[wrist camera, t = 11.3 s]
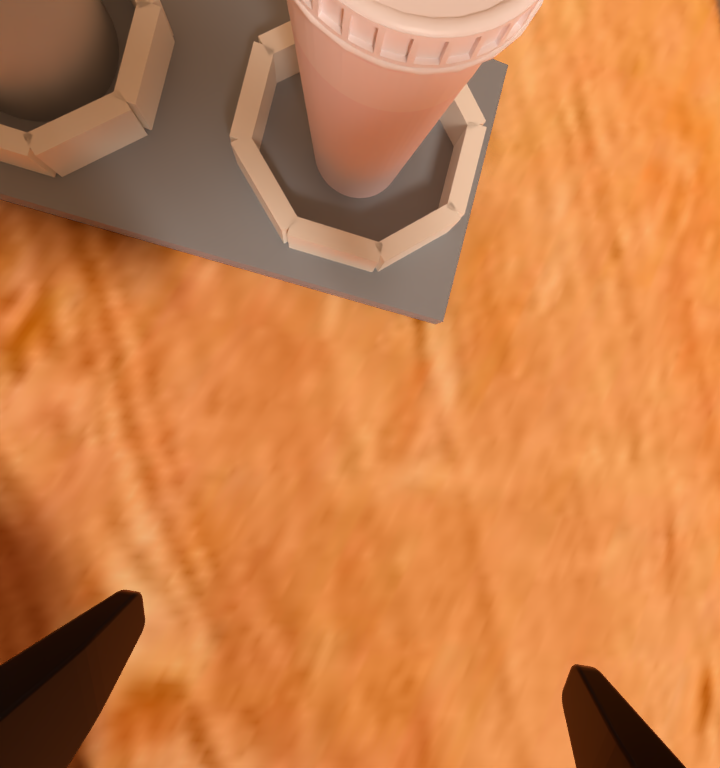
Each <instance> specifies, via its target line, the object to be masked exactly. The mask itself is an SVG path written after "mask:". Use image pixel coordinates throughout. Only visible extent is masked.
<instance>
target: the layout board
mask: <svg viewBox="0 0 720 768" xmlns="http://www.w3.org/2000/svg"><path fill="white" fill-rule="evenodd" d="M507 67H508V65H507V64H504V63H502V62H499V61H497V60H494V59H491V60H488V61H486V62H483V63H482V64H481V65H480V67H479V68H478V69H477V71H476V72H475V73H474V75H473V76H472V78H471V79H470V80H469V81H468V82H467V84H466V85H465V86H464V87H463V89H462V90H461V91H460V93H459V94H458V95H457V96H456V98H455V99H454V100H453V102H452V103H451V104H450V106H449V107H448V108H447V110H446V111H445V112H444V114H443V115H442V116H441V118H440V119H439V120H438V122H437V123H436V124H435V126H434V127H433V128H432V129H431V131H430V132H429V133H428V135H427V136H426V137H425V139H424V140H423V141H422V143H421V144H420V145H419V147H418V148H417V149H416V151H415V152H414V153H413V155H412V156H411V157H410V159H409V160H408V161H407V162H406V164H405V165H404V166H403V168H402V169H401V170H400V172H399V173H398V174H397V176H396V177H395V178H394V180H393V181H392V182H391V184H390V185H389V186H388V187H387V188H386V189H385V190H383V191H382V192H380V193H379V194H377V195H374V196H372V197H367V198H353V197H348V196H345V195H343V194H341V193H339V192H337V191H336V190H334V189H333V188H332V187H330V186H329V185H328V184H327V183H326V181H325V180H324V179H323V177H322V176H321V174H320V172H319V170H318V168H317V165H316V161H315V155H314V150H313V144H312V138H311V133H310V127H309V121H308V116H307V110H306V104H305V99H304V93H303V87H302V82H301V76H300V71H299V65H298V59H297V54H296V48H295V42H294V37H293V31H292V25H291V21H290V16H289V11H288V6H287V0H0V199H1V200H4V201H8V202H11V203H15V204H18V205H22V206H25V207H29V208H32V209H36V210H39V211H43V212H46V213H49V214H53V215H56V216H60V217H63V218H67V219H70V220H74V221H77V222H81V223H84V224H88V225H91V226H95V227H98V228H102V229H105V230H109V231H112V232H116V233H119V234H123V235H126V236H130V237H133V238H137V239H140V240H144V241H147V242H151V243H154V244H158V245H161V246H165V247H168V248H172V249H175V250H179V251H182V252H186V253H189V254H193V255H196V256H200V257H203V258H206V259H210V260H213V261H217V262H220V263H224V264H227V265H231V266H234V267H238V268H241V269H245V270H248V271H252V272H255V273H259V274H262V275H266V276H269V277H273V278H276V279H280V280H283V281H287V282H290V283H294V284H297V285H301V286H304V287H308V288H311V289H315V290H318V291H322V292H325V293H329V294H332V295H336V296H339V297H343V298H346V299H350V300H353V301H356V302H360V303H363V304H367V305H370V306H374V307H377V308H381V309H384V310H388V311H391V312H395V313H398V314H402V315H405V316H409V317H412V318H416V319H419V320H423V321H426V322H430V323H433V324H437V323H440V322H443V319H444V315H445V311H446V307H447V303H448V299H449V296H450V292H451V288H452V284H453V280H454V276H455V272H456V268H457V264H458V260H459V256H460V252H461V248H462V244H463V240H464V236H465V233H466V229H467V225H468V221H469V217H470V213H471V209H472V205H473V201H474V197H475V193H476V189H477V185H478V181H479V177H480V173H481V169H482V166H483V162H484V158H485V154H486V150H487V146H488V142H489V138H490V134H491V130H492V126H493V122H494V118H495V114H496V110H497V106H498V103H499V99H500V95H501V91H502V87H503V83H504V79H505V75H506V71H507Z"/></svg>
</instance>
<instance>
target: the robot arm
mask: <svg viewBox="0 0 720 768" xmlns="http://www.w3.org/2000/svg"><path fill="white" fill-rule="evenodd" d="M144 625H145V615H144V607H143V599H142V595H141V594H140V592H136V591H130V590H121V591H118V592H116V593H115V594H113V595H112V596H110V597H108V598H107V599H105V600H104V601H102V602H100V603H99V604H97V605H96V606H94V607H92V608H91V609H89V610H88V611H86V612H84V613H83V614H81V615H80V616H78V617H77V618H75V619H73V620H72V621H70V622H69V623H67V624H65V625H64V626H62V627H61V628H59V629H57V630H56V631H54V632H53V633H51V634H49V635H48V636H46V637H45V638H43V639H41V640H40V641H38V642H37V643H35V644H34V645H32V646H30V647H29V648H27V649H26V650H24V651H22V652H21V653H19V654H18V655H16V656H14V657H13V658H11V659H10V660H8V661H6V662H5V663H3V664H2V665H0V768H67V767H68V765H69V764H70V762H71V760H72V759H73V757H74V756H75V754H76V752H77V751H78V749H79V748H80V746H81V744H82V743H83V741H84V739H85V738H86V736H87V735H88V733H89V731H90V730H91V728H92V726H93V725H94V723H95V721H96V720H97V718H98V716H99V714H100V713H101V711H102V709H103V707H104V705H105V703H106V702H107V700H108V698H109V696H110V694H111V692H112V690H113V688H114V686H115V684H116V682H117V680H118V678H119V676H120V674H121V672H122V670H123V668H124V666H125V665H126V663H127V661H128V659H129V657H130V655H131V653H132V651H133V649H134V647H135V645H136V643H137V641H138V639H139V637H140V635H141V633H142V631H143V628H144ZM562 704H563V709H564V714H565V718H566V723H567V727H568V732H569V736H570V741H571V746H572V750H573V755H574V759H575V764H576V768H686V767H685V766H684V765H683V764H682V763H681V761H680V760H679V759H678V758H677V757H676V756H675V755H674V754H673V753H672V751H671V750H670V749H669V748H668V747H667V746H666V745H665V744H664V743H663V741H662V740H661V739H660V738H659V737H658V736H657V735H656V734H655V732H654V731H653V730H652V729H651V728H650V727H649V726H648V725H647V724H646V722H645V721H644V720H643V719H642V718H641V717H640V716H639V715H638V714H637V712H636V711H635V710H634V709H633V708H632V707H631V706H630V705H629V703H628V702H627V701H626V700H625V699H624V698H623V697H622V696H621V695H620V693H619V692H618V691H617V690H616V689H615V688H614V687H613V686H612V685H611V683H610V682H609V681H608V680H607V679H606V678H605V677H604V676H603V674H602V673H601V672H600V671H598V670H597V669H596V668H594V667H590V666H584V665H578V664H575V665H573V666H572V667H571V670H570V672H569V675H568V678H567V680H566V683H565V686H564V689H563V692H562Z"/></svg>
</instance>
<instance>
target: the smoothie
mask: <svg viewBox="0 0 720 768" xmlns="http://www.w3.org/2000/svg"><path fill="white" fill-rule="evenodd" d="M542 3H543V0H287V6H288V11H289V16H290V21H291V25H292V31H293V37H294V42H295V48H296V54H297V59H298V65H299V71H300V76H301V82H302V87H303V93H304V99H305V104H306V110H307V116H308V121H309V127H310V133H311V138H312V144H313V150H314V155H315V161H316V165H317V168H318V170H319V172H320V174H321V176H322V177H323V179H324V180H325V181H326V183H327V184H328V185H329V186H330V187H332V188H333V189H334V190H336V191H337V192H339V193H341V194H343V195H345V196H348V197H353V198H367V197H372V196H374V195H377V194H379V193H380V192H382V191H383V190H385V189H386V188H387V187H388V186H389V185H390V184H391V182H392V181H393V180H394V178H395V177H396V176H397V174H398V173H399V172H400V170H401V169H402V168H403V166H404V165H405V164H406V162H407V161H408V160H409V159H410V157H411V156H412V155H413V153H414V152H415V151H416V149H417V148H418V147H419V145H420V144H421V143H422V141H423V140H424V139H425V137H426V136H427V135H428V133H429V132H430V131H431V129H432V128H433V127H434V126H435V124H436V123H437V122H438V120H439V119H440V118H441V116H442V115H443V114H444V112H445V111H446V110H447V108H448V107H449V106H450V104H451V103H452V102H453V100H454V99H455V98H456V96H457V95H458V94H459V93H460V91H461V90H462V89H463V87H464V86H465V85H466V84H467V82H468V81H469V80H470V79H471V78H472V76H473V75H474V73H475V72H476V71H477V69H478V68H479V67H480V65H481V64H482V63H483V62H486V61H488V60H491V59H493V58H494V57H495V56H496V55H498V54H499V53H500V52H501V51H503V50H504V49H505V48H506V47H508V46H509V45H510V44H511V43H512V42H514V41H515V40H516V39H517V38H519V37H520V36H521V35H522V33H523V32H524V30H525V29H526V27H527V26H528V24H529V23H530V21H531V20H532V18H533V17H534V16H535V14H536V13H537V11H538V10H539V8H540V7H541V5H542Z"/></svg>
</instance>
